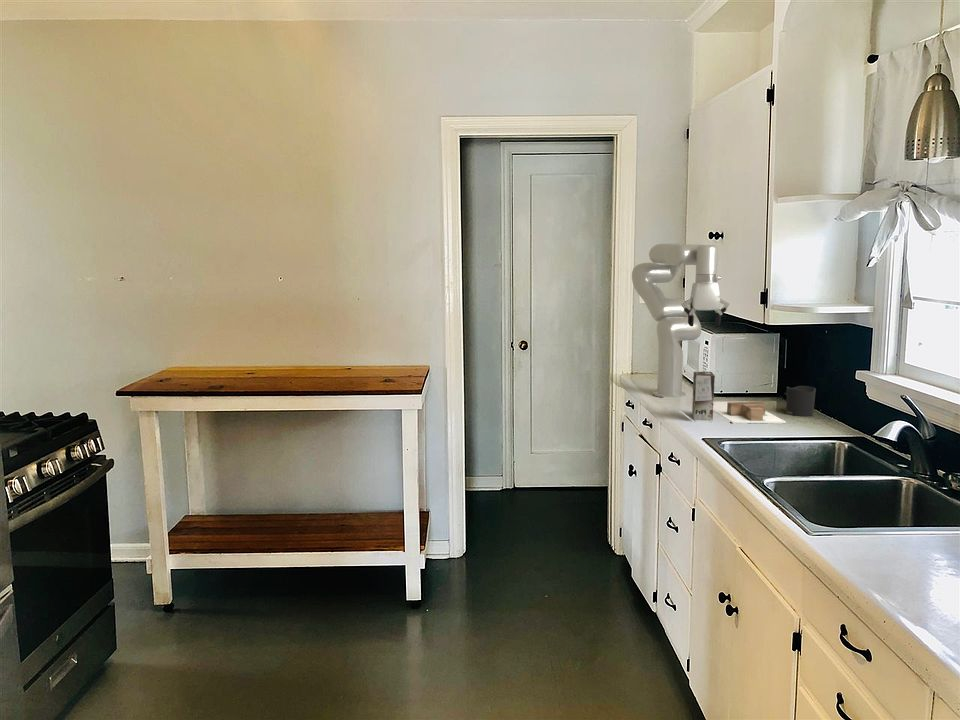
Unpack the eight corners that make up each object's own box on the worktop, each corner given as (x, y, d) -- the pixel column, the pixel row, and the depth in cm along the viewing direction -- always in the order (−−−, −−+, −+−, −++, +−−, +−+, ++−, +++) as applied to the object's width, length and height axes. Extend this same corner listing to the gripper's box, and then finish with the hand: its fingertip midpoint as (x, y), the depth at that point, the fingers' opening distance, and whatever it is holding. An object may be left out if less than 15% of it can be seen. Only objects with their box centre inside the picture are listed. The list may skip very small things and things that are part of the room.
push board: (701, 403, 283) (701, 401, 283) (748, 403, 284) (748, 401, 284) (732, 423, 250) (732, 421, 250) (785, 423, 250) (785, 421, 250)
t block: (727, 413, 263) (727, 402, 263) (760, 413, 263) (761, 401, 263) (739, 420, 251) (739, 409, 251) (774, 420, 251) (775, 409, 251)
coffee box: (713, 422, 252) (715, 375, 249) (693, 421, 253) (695, 375, 251) (710, 416, 261) (712, 371, 258) (691, 416, 262) (693, 370, 259)
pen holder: (785, 411, 268) (786, 384, 267) (813, 414, 264) (815, 386, 263) (785, 417, 259) (786, 389, 258) (814, 419, 256) (816, 391, 254)
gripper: (726, 278, 274) (724, 324, 277) (679, 278, 274) (678, 325, 277) (733, 279, 267) (731, 326, 269) (685, 279, 267) (683, 327, 269)
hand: (704, 325), depth 273 cm, fingers open, 9 cm apart
